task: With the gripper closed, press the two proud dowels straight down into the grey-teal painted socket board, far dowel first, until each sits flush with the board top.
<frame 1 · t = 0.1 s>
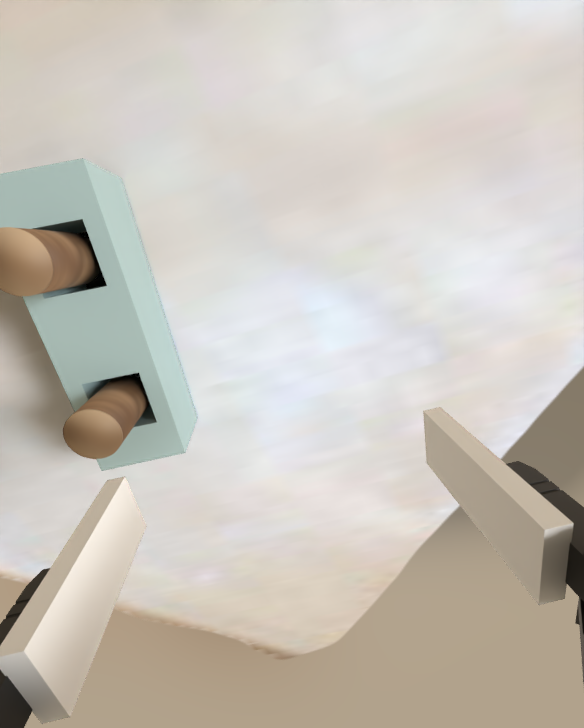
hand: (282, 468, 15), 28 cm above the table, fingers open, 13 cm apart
socket board: (125, 320, 39), on the table
peg a: (49, 260, 27), point 10 cm above the table, slide at 6.0 cm
peg b: (112, 413, 32), point 10 cm above the table, slide at 6.0 cm
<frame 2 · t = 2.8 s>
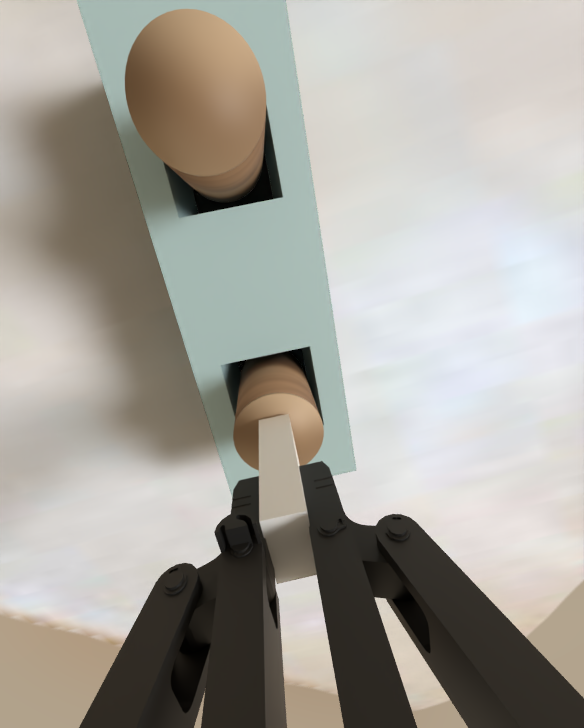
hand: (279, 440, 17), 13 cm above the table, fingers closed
socket board: (251, 275, 27), on the table
peg a: (212, 134, 15), point 10 cm above the table, slide at 6.0 cm
peg b: (275, 401, 21), point 9 cm above the table, slide at 4.8 cm, touching gripper
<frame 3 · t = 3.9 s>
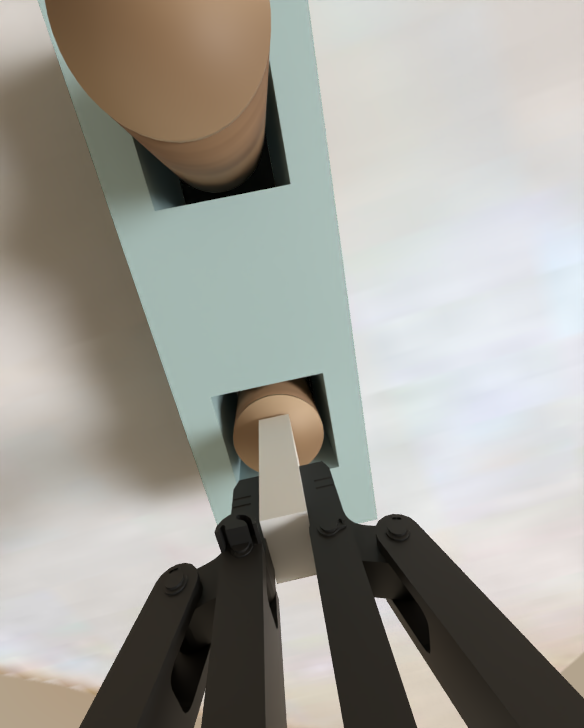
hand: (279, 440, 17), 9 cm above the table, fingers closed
socket board: (250, 282, 23), on the table
peg a: (194, 94, 11), point 10 cm above the table, slide at 6.0 cm
peg b: (275, 403, 21), point 4 cm above the table, slide at 0.3 cm, touching gripper
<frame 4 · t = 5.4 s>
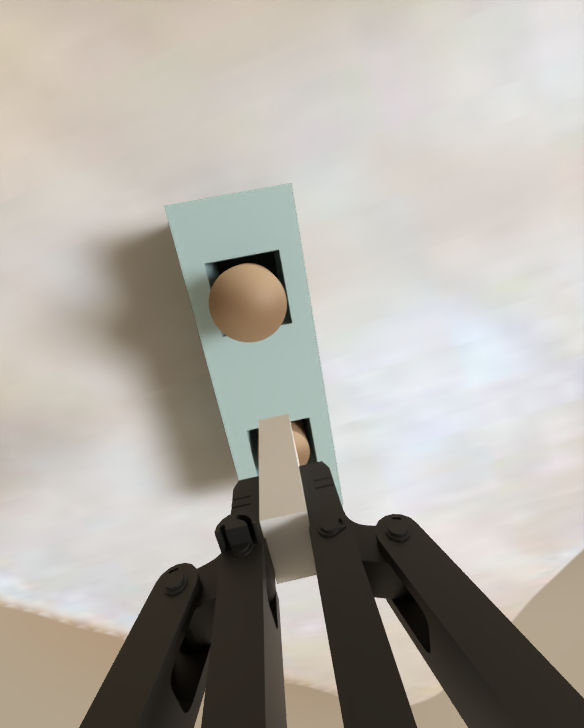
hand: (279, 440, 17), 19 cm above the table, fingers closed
socket board: (265, 353, 36), on the table
peg a: (249, 297, 24), point 10 cm above the table, slide at 6.0 cm
peg b: (280, 431, 34), point 4 cm above the table, slide at 0.3 cm
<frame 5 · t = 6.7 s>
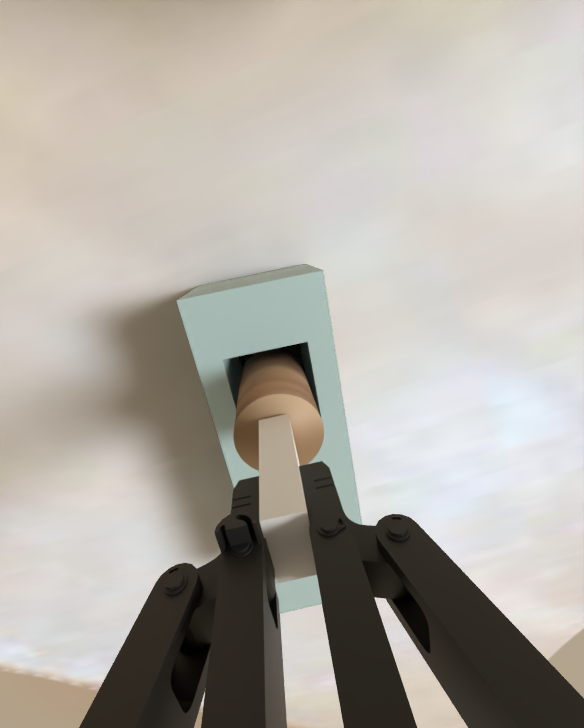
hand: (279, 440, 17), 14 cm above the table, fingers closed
socket board: (285, 421, 33), on the table
peg a: (275, 402, 21), point 10 cm above the table, slide at 5.9 cm, touching gripper
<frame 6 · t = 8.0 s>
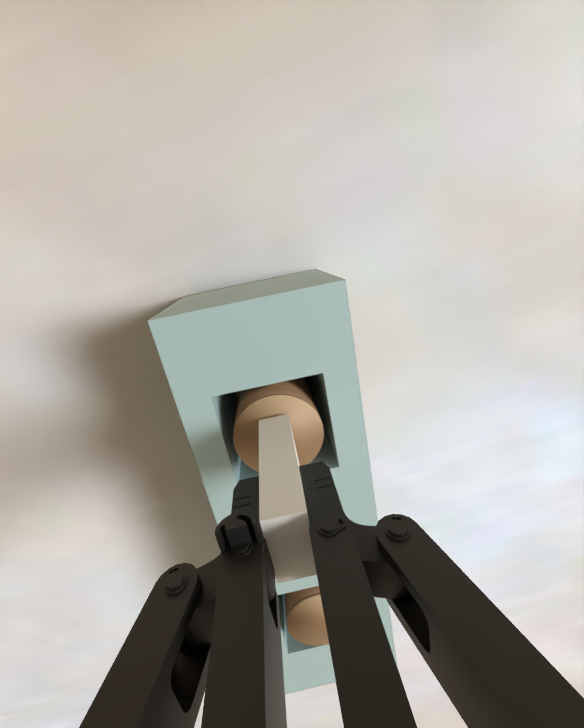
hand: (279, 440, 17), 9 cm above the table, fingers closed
socket board: (290, 456, 27), on the table
peg a: (275, 403, 21), point 4 cm above the table, slide at 0.3 cm, touching gripper
peg b: (312, 566, 26), point 4 cm above the table, slide at 0.3 cm
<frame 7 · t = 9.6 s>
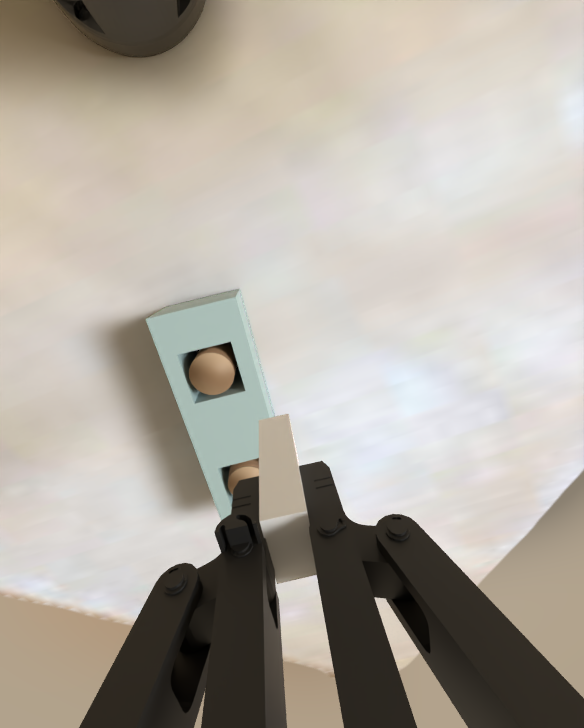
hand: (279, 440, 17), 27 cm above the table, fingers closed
socket board: (235, 401, 45), on the table
peg a: (216, 362, 39), point 4 cm above the table, slide at 0.3 cm
peg b: (248, 463, 43), point 4 cm above the table, slide at 0.3 cm
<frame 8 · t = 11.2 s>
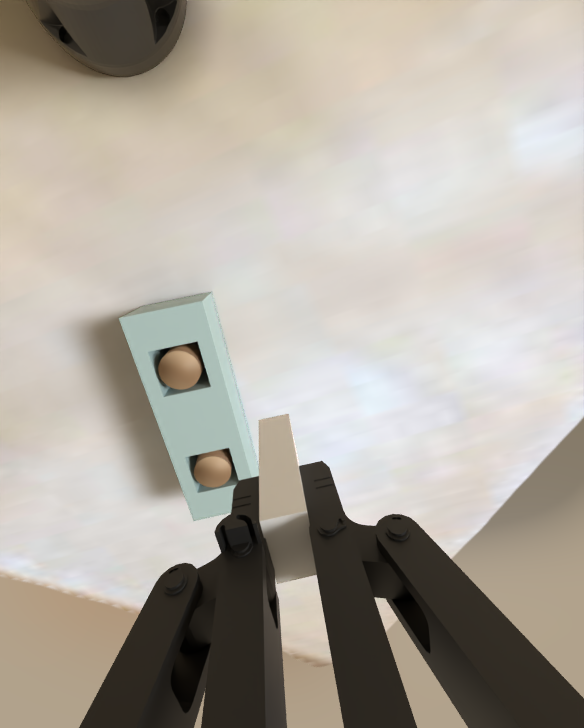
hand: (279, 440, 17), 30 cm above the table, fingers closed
socket board: (206, 396, 48), on the table
peg a: (186, 359, 42), point 4 cm above the table, slide at 0.3 cm
peg b: (216, 454, 47), point 4 cm above the table, slide at 0.3 cm
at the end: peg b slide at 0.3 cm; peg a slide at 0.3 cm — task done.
